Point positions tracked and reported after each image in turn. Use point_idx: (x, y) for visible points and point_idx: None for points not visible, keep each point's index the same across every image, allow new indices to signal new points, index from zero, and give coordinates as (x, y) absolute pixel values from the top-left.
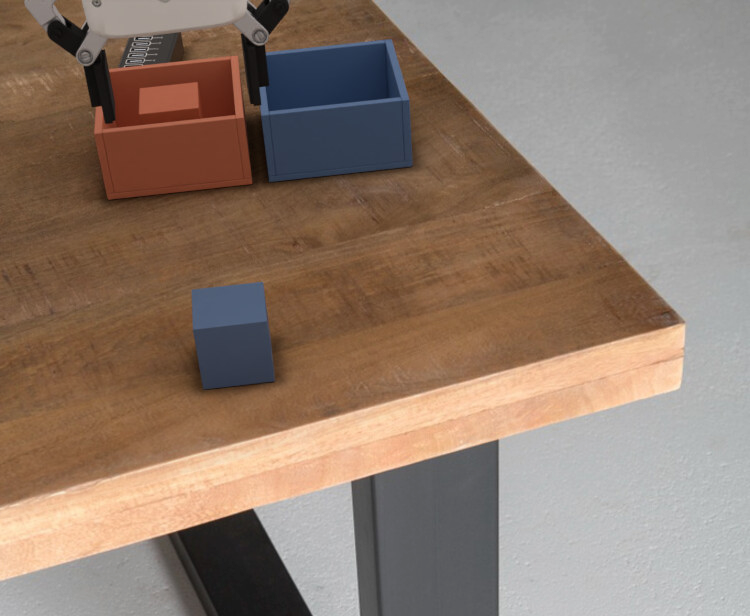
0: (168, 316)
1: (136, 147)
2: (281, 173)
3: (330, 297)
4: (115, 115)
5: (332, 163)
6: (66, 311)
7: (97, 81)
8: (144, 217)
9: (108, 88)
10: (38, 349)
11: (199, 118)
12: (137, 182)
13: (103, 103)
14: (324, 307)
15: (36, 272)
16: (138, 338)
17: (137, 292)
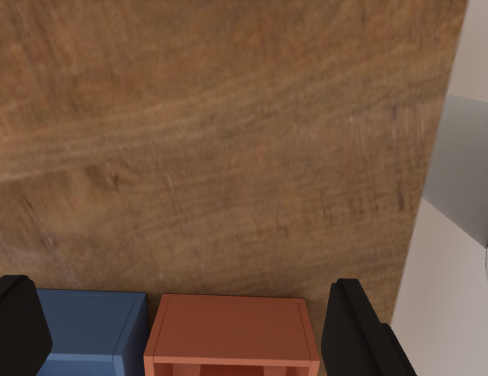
0: (266, 63)
1: (272, 340)
2: (130, 297)
3: (66, 52)
4: (328, 303)
5: (74, 299)
6: (378, 108)
7: (400, 366)
8: (272, 263)
9: (361, 346)
10: (427, 30)
11: (200, 373)
12: (274, 308)
13: (368, 313)
14: (72, 29)
15: (394, 194)
16: (306, 21)
17: (295, 126)
